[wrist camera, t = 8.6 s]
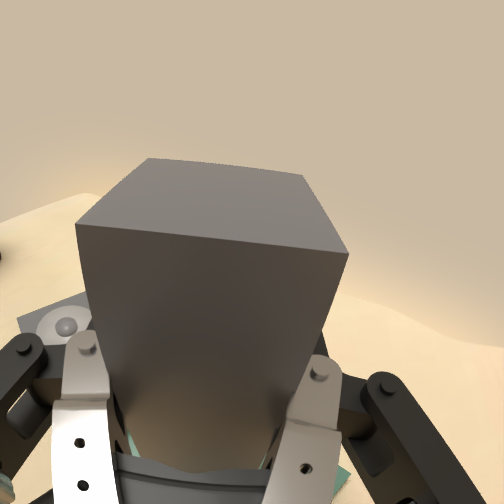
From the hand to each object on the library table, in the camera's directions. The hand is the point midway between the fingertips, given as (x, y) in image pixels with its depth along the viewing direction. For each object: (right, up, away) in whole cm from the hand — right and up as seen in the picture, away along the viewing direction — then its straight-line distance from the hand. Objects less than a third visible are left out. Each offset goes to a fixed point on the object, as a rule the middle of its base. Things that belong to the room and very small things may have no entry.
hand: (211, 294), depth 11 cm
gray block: (-1, -7, +1) cm, 8 cm away
